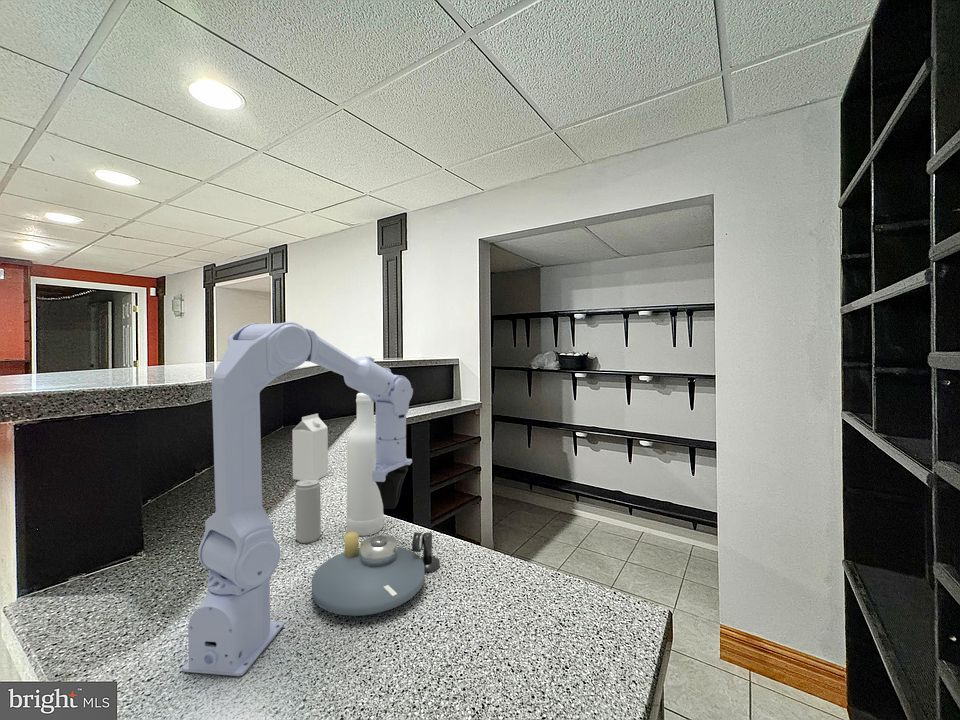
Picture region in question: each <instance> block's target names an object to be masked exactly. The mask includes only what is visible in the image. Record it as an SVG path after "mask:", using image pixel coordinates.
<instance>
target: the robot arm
mask: <svg viewBox="0 0 960 720" xmlns="http://www.w3.org/2000/svg"><path fill="white" fill-rule="evenodd" d="M305 362H309V363H310V362H311V363H313V364H315V365H317V366H320V367H322V368H324V369H325V370H329V371H331V372H333V373H336V374H339V375H340V376H343V380H344V383H345V385H346V386H347V387H349V388H351V389H353V390H356V391H357V392H358V393H364V394H366V395H368V396H369V397H370V399H371V401H372V402H374V403H375V426H376V459H375V469H374V471H373V481H374V482H376V484H377V486H378V488H379V491H380V495H381V499H382V503H383V510H384V509H385V510H395V509H396V507H397V506H398V504H399V500H400V497H401V493H402V492H401V491H402V486H403V483H404V480H405V478H406V474H407V473H408V471H409V467H408V466H410V465H411V464H412V463H413V459H412V458H407V414H408V413H409V412H408V411H409V410H410V408H409V407H410V406H409V405H410V401H411V399H412V397H413V394H414V388H412V385H411V384H412V383H411V382H410V380H409V379H408V378H407V377H406V376H404V375H399V374H394V373H392V370H391V369H390V368H388V367H382V366H381V365H379V364H377V363H376V362H375V358H373V357H372V356H367V355H366V356H359V357H356V358H353V357H352V356H350V355H348V354H347V353H345V352H344V351H342V350H341V349H339V348H338V347H335V346H334V345H333V344H331V343H330V342H328V341H326V340H325V339H323V338H322V337H320V336H319V335H318V334H317V333H316V332H315V331H314V330H312V329H309V328H305V327H304V326H302V325H300V324H299V323H296V322H293V321H286V322H281V323H279V322H278V323H258V322H251V323H247V324H246V325H243V326H241V327H240V328H239V329H237V330H235V332H233V333H232V334H231V335H228V337H227V348H226V351H225V352H224V354H223V355H222V358H221V360H220V362H219V364H218V365H217V368H216V369H215V371H214V372H213V375H212V378H211V403H212V406H211V407H212V430H213V431H212V433H213V434H212V435H213V437H212V438H213V467H214V469H213V470H214V473H213V474H214V499H215V500H214V501H215V512H214V513H213V514H212V515H210V516H209V517H208V518H207V519H206V520H205V521H204V526H205V528H204V534H203V537H202V538H201V539H202V540H201V542H200V544H199V547H198V551H197V552H198V553H197V554H198V560H199V562H200V564H201V565H202V566H203V567H204V568H206V569H208V579H207V590H206V594H205V596H204V598H203V600H202V602H201V604H200V605H198V607H197V608H196V609H195V611H193V613H192V614H191V616H190V618H189V621H188V624H187V625H188V627H187V630H188V632H187V633H188V635H187V636H188V637H187V639H188V641H187V642H188V644H187V645H188V646H187V647H188V661H187V662H186V663H185V664H184V665H183V666H182V672H186V673H195V674H196V673H197V674H206V675H207V674H209V675H219V676H232V677H241V676H243V675H244V674H246V673H247V671H248V670H249V669H250V668H251V666H252V665H253V664H254V662H255V661H257V659H258V657H259V656H260V655H261V654H262V653H263V651H264V650H265V649H266V648H267V647H268V646H269V644H271V642H272V641H273V640H274V639H275V637H276V636H277V635H278V634H279V632H280V631H281V629H282V628H283V627H284V624H285V623H284V622H283V621H275V620H271V586H270V585H271V583H270V581H271V580H272V575H273V574H274V572H275V571H276V569H277V567H278V565H279V563H280V558H281V546H280V544H279V542H278V541H277V540H276V538H275V535H274V524H273V523H272V521H271V519H270V517H269V515H268V514H267V512H266V510H265V508H264V507H263V485H262V483H263V482H262V480H263V479H262V478H263V477H262V474H263V473H262V444H261V443H262V441H261V437H262V436H261V404H260V403H261V402H260V401H261V400H260V399H261V398H260V397H261V396H260V393H261V392H262V390H263V389H265V388H266V387H267V386H268V385H269V384H270V383H272V382H273V380H275V379H276V378H278V377H279V376H282V375H284V374H286V373H288V372H290V371H292V370H294V369H296V368H298V367H300V366H302V365H303V364H304V363H305Z"/></svg>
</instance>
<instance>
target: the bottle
mask: <svg viewBox="0 0 960 720" xmlns="http://www.w3.org/2000/svg"><path fill="white" fill-rule="evenodd" d="M355 403H356V425H355V426H354V427H353V428H352V429H351V430H350V432H349V434H348V436H347V439H346V519H345V520H346V521H345V522H346V532H347V533H349V532H357V533H358V534H359V537H367V536H371V535H375V534H377V533H379V532H381V530H382V529H383V528H384V519H385V518H384V516H385V515H384V507H383V503H382V499H381V495H380V491H379V488H378V486H377V484H376V482H374V481H373V471H374V469H375V459H376V424H374V418H375V417H374V412H375V411H374V409H375V408H374V403H375V402H372V401H371V399H370V397H369V396H368V395H366V394H364V393H361V392H357V394H356V399H355Z"/></svg>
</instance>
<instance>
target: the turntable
mask: <svg viewBox="0 0 960 720" xmlns="http://www.w3.org/2000/svg"><path fill="white" fill-rule="evenodd" d="M359 537H360V536H359V534H358V533H357V532H349V533H348V532H346V533H345V534H344V551H343V552H341V553H339V554H337V555H334V556H332V557H331V558H329V559H327V560H326V561H324V562H323V563H322V564H321V565H320V566H318V568H317V569H316V570H315V572H314V573H313V576H312V578H311V597H312V599H313V601H314V603H315V604H317V605H318V607H320V608H321V609H323V610H325V611H327V612H330V613H333V614H336V615H342V616H351V617H352V616H355V617H357V616H358V617H359V616H369V615H374V614H379V613H383V612H386V611H391V610H392V609H395V608H397V607H399V606H401V605H403V604H405V603H406V602H408V601H409V600H411V599H412V598H413V597H414V596H416V594H418V593H419V591H420V590H421V589H422V587H423V585H424V582H425V573H424V569H425V567H424V563H423V561H422V559H421V557H420V556H419V555H418V554H417V553H415V552H413V550H410V549H406V548H405V547H399V546H397V559H396V560H395V561H394V562H393V563H391V564H389V565H387V566H383V567H367V566H364V565H363V564H362V563H361V562H360V544H359V543H360V542H359ZM390 609H391V610H390Z"/></svg>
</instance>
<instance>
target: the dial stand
mask: <svg viewBox="0 0 960 720" xmlns="http://www.w3.org/2000/svg"><path fill="white" fill-rule="evenodd" d="M411 546H412V547H411V549H412V550H411V551H412V552H414V553H415V552H416V553H421V552H422V557H420V558H421V559H422V561H423V563H424V567H425V569H424V572H431V573H433V572H432V571H434V572H436V571H438V570H439V568H440V562H441V561H440V559H439V558H438V557H436V556H433V533H431V532H430V531H429V532H424V533H423V532H420V531H419V532H417V531H415V532H414V533H413V536H412V544H411ZM437 569H438V570H437ZM435 570H436V571H435Z"/></svg>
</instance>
